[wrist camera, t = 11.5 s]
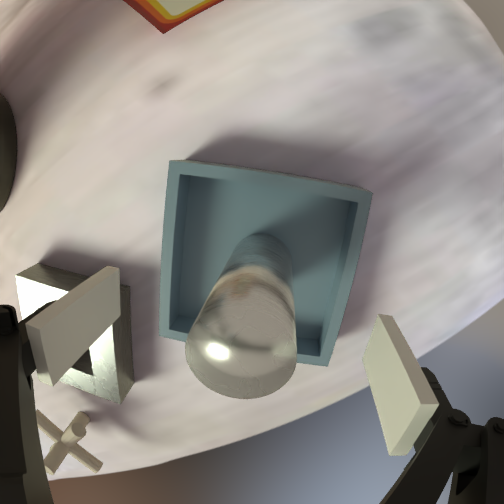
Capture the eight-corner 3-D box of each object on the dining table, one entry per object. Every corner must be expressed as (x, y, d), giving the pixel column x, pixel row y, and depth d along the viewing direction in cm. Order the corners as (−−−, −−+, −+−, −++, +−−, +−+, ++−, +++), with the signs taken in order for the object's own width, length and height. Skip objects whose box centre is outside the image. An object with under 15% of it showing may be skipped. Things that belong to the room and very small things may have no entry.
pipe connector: (65, 373, 31) (18, 426, 22) (131, 428, 32) (98, 490, 23) (45, 404, 34) (7, 449, 24) (100, 450, 35) (71, 501, 25)
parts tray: (184, 159, 23) (169, 160, 20) (361, 187, 22) (372, 192, 19) (172, 316, 27) (159, 335, 24) (324, 344, 26) (327, 366, 23)
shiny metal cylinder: (234, 229, 23) (187, 297, 12) (296, 238, 23) (307, 317, 11) (227, 286, 24) (183, 387, 13) (286, 295, 24) (285, 405, 13)
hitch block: (37, 263, 27) (15, 275, 24) (129, 286, 26) (110, 303, 23) (51, 353, 30) (34, 369, 27) (134, 383, 30) (120, 404, 26)
